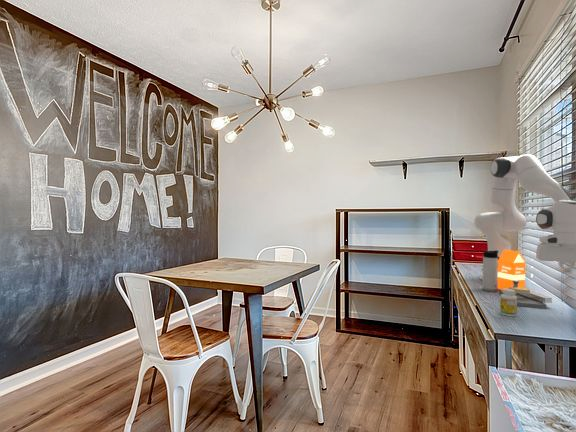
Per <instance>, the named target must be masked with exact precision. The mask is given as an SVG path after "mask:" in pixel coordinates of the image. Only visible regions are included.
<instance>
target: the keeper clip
mask: <svg viewBox="0 0 576 432" xmlns="http://www.w3.org/2000/svg"><path fill="white" fill-rule="evenodd" d="M509 289H512V290H515V294H514V295H515V296H516V292H528V293H530V291H531V290H530V289H529V288H527V287H525V288H517V287H509Z"/></svg>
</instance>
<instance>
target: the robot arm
mask: <svg viewBox="0 0 576 432" xmlns="http://www.w3.org/2000/svg"><path fill="white" fill-rule="evenodd" d="M490 172H491V175H492V176H493V181H492V187H491V196H490V201H491V203H492V204H493V205H494V206H496V207H498V208H500V211H494V212H493V211H487V212H486V211H485V212H481V213H478V214H477V215H476V216H475V218H474V226H475V228H476V229H477V230H479V232H480V233H482V234H483V235H484V237H485V239H486V241H487V251H499V252H498V260H499V258H500V256H501V254H502V253H503V251H504V250H512V244H511V242H510V240H508V239H507V238H505V237H502V235H501V232H509V233H510V232H515V233H516V232H521V231H524V229H526V226H527V219H526V216H525V215H524V214H523V213H522V212H520V211H519V209H518V208H517V206H516V189H517V180H518V183H519V185H520V186H521V187H522V189H524V190H526V191H527V192H529V193H534V194H538V195H542V196H545V197H549V198H551V199H552V200H553V201H554V204H553V205H551V206H548V207H546V208H542V209H541V210H539V211H538V212H537V214H536V216H535V222H536V225H537V226H538V228H539V229H541V230H545V231H553V234H550V235H545V236H541V237H539V242H540V243H538V244H537V247H536V252H535V258H536V259H537V260H538V261H541V262H542V261H544V262H557V264H558V265H559V267H560V272H561V273H563V274H572V271H573V268H574V267H575V266H576V200H574V199H573V197H572V196H571V195H570V194H569V192H568V191H567V190H566V189H565V188H564V186H563V185H562V184H561V183H560V182H558V181H557V180H555V179H554V178H553V177H551V176H550V175H549V174H548V173H547V171H546V170H545V168H544V166H543V165H542V163H541V162H540V160H539V159H538V158H537V157H536V156H535V155H534V154H529V153H528V154H522V155H520V156H519V155H516V156H515V155H514V156H507V157H503V156H501V157H498V158H495V159H493V161H492V162H491V165H490ZM565 263H568V265H569V266H568V267H567V268H565V266H564V264H565ZM481 272H483V266H482V267H481ZM479 280H482V281H483V273H481V274H480V275H479ZM497 283H498V268H497Z"/></svg>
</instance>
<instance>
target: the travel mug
mask: <svg viewBox="0 0 576 432" xmlns="http://www.w3.org/2000/svg"><path fill="white" fill-rule="evenodd" d="M498 252H499V251H488V250H485V251H483V253H482V255H483V257H482V267H483V271H482V274H483V280H482V290H483V291H485V292H492V293H493V292H494V293H495V292H497V291H498V282H497V268H498Z"/></svg>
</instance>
